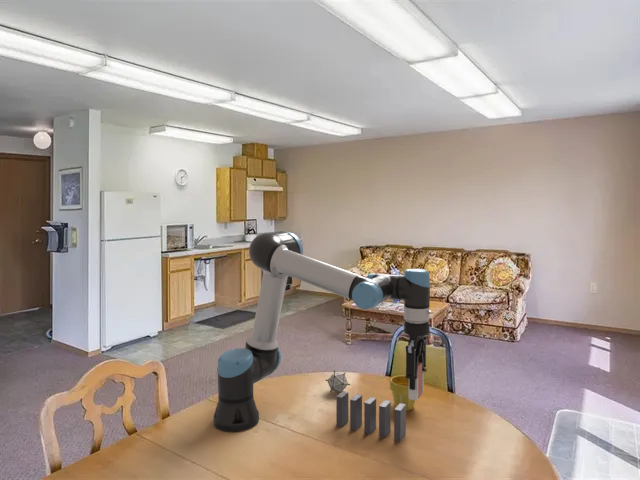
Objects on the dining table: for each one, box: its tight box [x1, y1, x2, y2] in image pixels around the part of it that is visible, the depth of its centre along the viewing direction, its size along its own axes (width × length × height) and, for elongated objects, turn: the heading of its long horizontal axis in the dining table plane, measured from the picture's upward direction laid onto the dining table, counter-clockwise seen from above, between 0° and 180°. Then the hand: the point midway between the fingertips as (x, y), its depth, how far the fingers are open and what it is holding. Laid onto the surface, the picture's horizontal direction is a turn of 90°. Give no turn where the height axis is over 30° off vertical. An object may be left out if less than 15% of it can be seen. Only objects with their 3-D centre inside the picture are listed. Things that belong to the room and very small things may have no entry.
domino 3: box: [363, 396, 377, 435], centre depth 147 cm, size 2×5×10 cm, turn 151°
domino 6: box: [417, 362, 423, 400], centre depth 138 cm, size 2×5×10 cm, turn 151°
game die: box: [325, 370, 351, 394], centre depth 177 cm, size 9×8×10 cm
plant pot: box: [389, 374, 416, 412], centre depth 164 cm, size 10×10×10 cm
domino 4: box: [378, 399, 392, 439], centre depth 144 cm, size 2×5×10 cm, turn 151°
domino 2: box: [349, 393, 363, 432], centre depth 149 cm, size 2×5×10 cm, turn 151°
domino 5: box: [393, 403, 407, 443], centre depth 142 cm, size 2×5×10 cm, turn 151°
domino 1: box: [335, 390, 350, 428], centre depth 152 cm, size 2×5×10 cm, turn 151°
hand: (416, 395), depth 139 cm, fingers closed on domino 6, 5 cm apart
